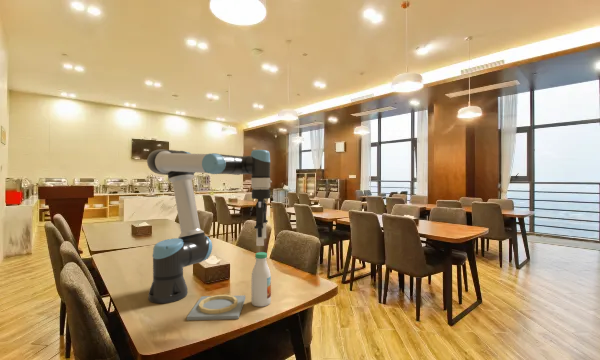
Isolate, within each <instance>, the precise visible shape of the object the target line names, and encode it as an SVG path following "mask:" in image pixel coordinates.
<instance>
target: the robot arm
mask: <svg viewBox="0 0 600 360" xmlns="http://www.w3.org/2000/svg"><path fill="white" fill-rule="evenodd" d="M146 163H147V166H148V169H149V170H150V171H151V172H153V173H155V174H157V175H162V176H163V175H164V176H165V175H166V176H167V179H168V182H171V183H172V187H173V193H174V200H175V205H176V210H177V217H178V223H179V228H180V234H179V236H178V238H177V237H176V238H175V237H173V238H170V239H163V240H160V241H159V242H157V243H155V245H154V246H153V249H152V250H153V251H152V282H151V286H150V287H149V292H148V301H149V302H150V301H151V302H150V303H153V302H154V303H153V304H168V303H169V304H170V303H174V302H177V301H179V300H183V299H184V298H185V297H187V295H188V285H187V283H186V280H185V278H184V268H186V267H188V266H191V265H195V264H201V263H202V262H204V261H206V260H207V259H209V258H210V256H211V254H212V252H213V242H212V240H211V239H210V237H209V236H207V235H206V234H205V231H204V230H202V229H201V225H200V220H199V216H198V215H199V214H198V208H197V202H196V197H195V192H194V187H193V179H194V178H195V173H200V174H211V175H236V176H240V175H251V178H250V179H251V180H250V181H251V182H250V183H251V184H250V185H251V188H252V190H251V199H253V200H257V201H256V203H255V208H256V209H255V212H256V213H255V214H256V215H255V216H256V217H255V225H254V227H253V229H254V230H256V231H255V233H256V234H255V235H256V239H255V240H256V243H255V244H256V245H255V246H257V247H259V246H260V247H261V246H262V247H263V246H265V244H264V243H265V241H264V240H265V239H267V223H268V221H269V220H268V219H267V202H266V200H267V199H271V189H270V188H271V183H273V181H272V180H271V154H270V151H269V150H266V149H253V150H252V151H251V153H250V155H245V156H244V155H240V156H239V155H230V154H222V153H220V154H219V153H191V152H190V151H184V150H173V149H163V148H160V149H156V150H155V149H154V150H153V151H151V152H150V153H149V154H148V156H147V159H146Z"/></svg>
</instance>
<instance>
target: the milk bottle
mask: <svg viewBox="0 0 600 360" xmlns="http://www.w3.org/2000/svg"><path fill="white" fill-rule="evenodd" d="M254 255H255V262H254V263H255V264H254V266H253V269H252V271H251V287H250V288H251V292H250V293H251V304H252V306H255V307H267V306H269V305H270V304H271V302H272V281H271V280H272V274H271V269H270V268H269V264H268V262H267V258H268V253H267V252H264V251H258V252H256V253H255V254H254Z"/></svg>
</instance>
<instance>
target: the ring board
mask: <svg viewBox="0 0 600 360" xmlns="http://www.w3.org/2000/svg"><path fill="white" fill-rule="evenodd" d="M245 301H246V295H245V294H244V295H243V294H242V295H241V294H240V295H229V294H216V295H203V296H202V295H201V296H200V298H199V299H198V301H197V302H196V303H195V305H194V306H193V307H192V309H191V310H190V311H189V312H188V314H187V316H186V321H207V320H208V321H209V320H210V321H211V320H214V321H215V320H238V319H239V318H240V315H241V314H242V313H241V312H242V309H243V306H244V303H245Z"/></svg>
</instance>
